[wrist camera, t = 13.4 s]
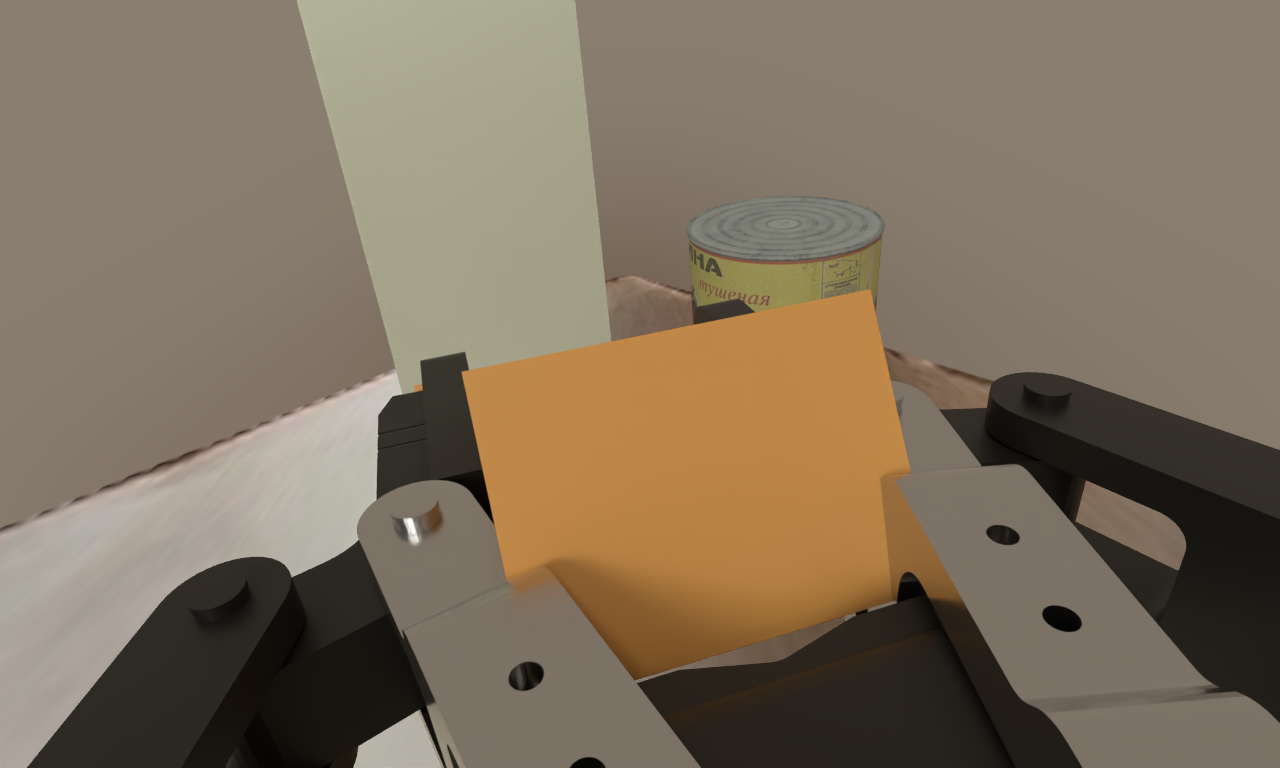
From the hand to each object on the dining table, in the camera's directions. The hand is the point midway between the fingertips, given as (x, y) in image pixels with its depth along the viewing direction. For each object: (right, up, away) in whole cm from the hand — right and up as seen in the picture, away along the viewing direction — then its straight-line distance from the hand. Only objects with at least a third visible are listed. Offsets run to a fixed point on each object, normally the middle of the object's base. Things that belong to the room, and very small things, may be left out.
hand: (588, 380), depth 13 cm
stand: (-6, -6, +30) cm, 31 cm away
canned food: (+10, -1, +37) cm, 38 cm away
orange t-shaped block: (0, -3, +4) cm, 5 cm away
